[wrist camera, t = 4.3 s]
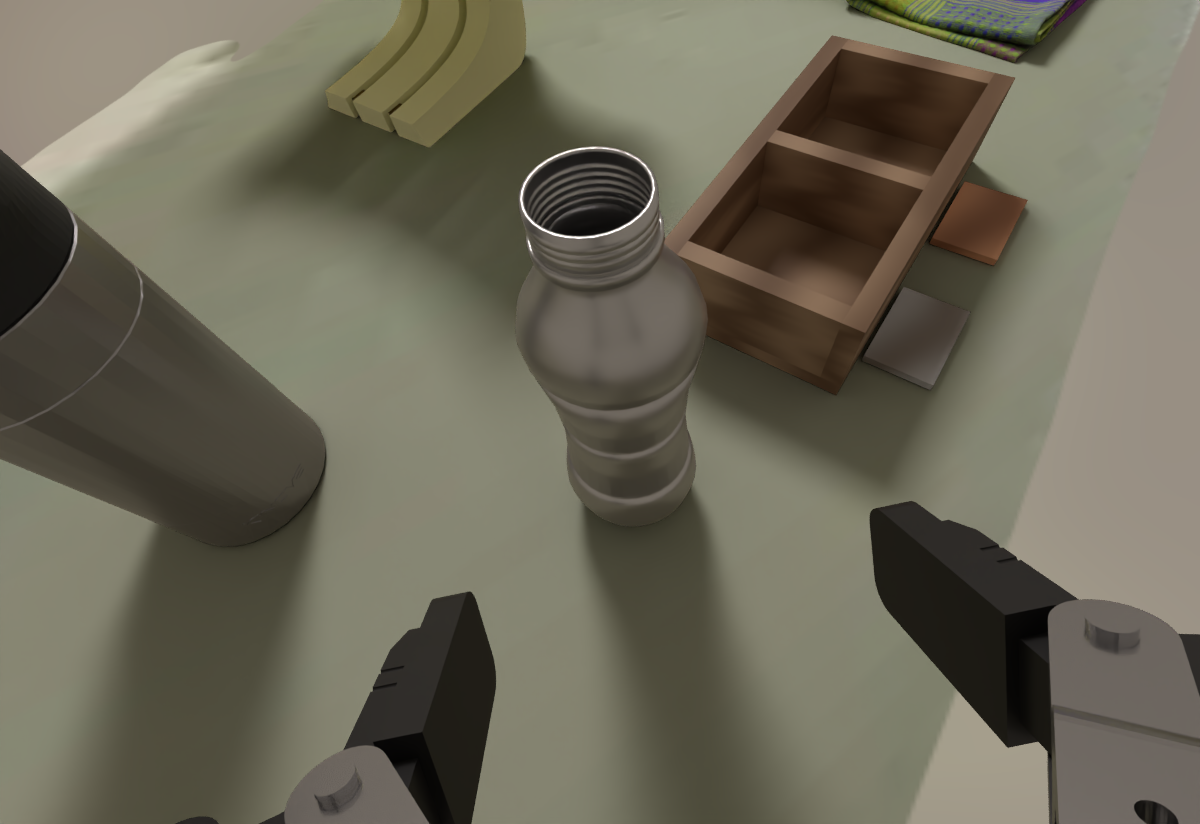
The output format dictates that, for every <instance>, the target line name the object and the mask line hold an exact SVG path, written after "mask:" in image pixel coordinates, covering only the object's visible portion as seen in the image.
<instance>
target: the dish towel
mask: <svg viewBox="0 0 1200 824" xmlns="http://www.w3.org/2000/svg"><path fill="white" fill-rule="evenodd" d="M846 1H847V2H848V3H849V5H851V6H853V7H854V8H856V9H858V10H860V11H862V12H864V13H866V14H868V15H870V16H872V17H875V18H878V19H881V20H884V21H886V22H890V23H892V24H895V25H899V26H901V27H904V28H907V29H910V30H913V31H916V32H920V33H922V34H925V35H929V36H932V37H935V38H938V39H941V40H944V41H948V42H951V43H954V44H958V45H961V46H964V47H968V48H971V49H974V50H977V51H981V52H984V53H986V54H989V55H992V56H995V57H998V58H1001V59H1004V60H1008V61H1010V62H1016V61H1017V59H1018V58H1019V57H1020V56H1021V55H1022V54H1023V53H1025V52H1027V51H1028V50H1029V49H1030V48H1032V47H1033V46H1034V45H1036V44H1037V43H1038V42H1040V41H1041V40H1042V39H1044V38H1045V37H1046V36H1047V35H1048V34H1049V33H1050V32H1052V31H1053V30H1054V29H1055V28H1056V27H1057V26H1058V25H1059V24H1060V23H1061V22H1062V21H1063V20H1064V19H1066V18H1067V17H1068V16H1069V15H1070V14H1071V13H1073V12H1074V11H1075V10H1076V9H1077V8H1079V7H1080V6H1081V5H1082V4H1083V3H1084V2H1085V1H1086V0H846Z"/></svg>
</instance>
